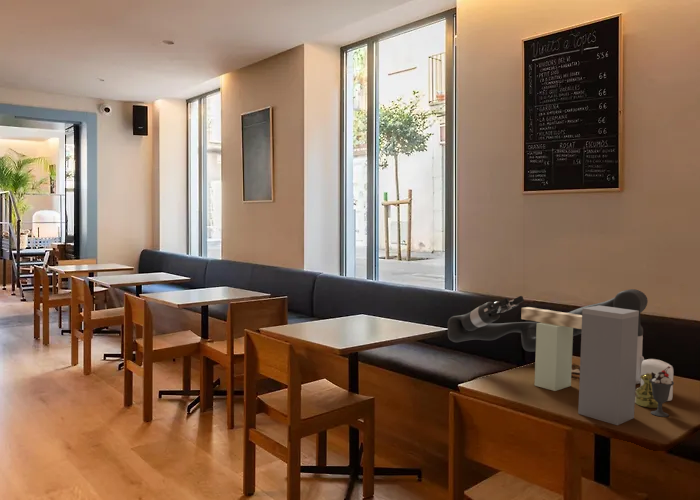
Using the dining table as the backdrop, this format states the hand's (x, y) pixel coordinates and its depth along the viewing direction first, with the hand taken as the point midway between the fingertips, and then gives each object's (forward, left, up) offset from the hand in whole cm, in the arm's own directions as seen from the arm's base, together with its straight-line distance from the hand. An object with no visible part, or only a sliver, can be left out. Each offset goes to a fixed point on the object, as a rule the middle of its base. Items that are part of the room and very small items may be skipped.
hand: (515, 299), depth 215 cm
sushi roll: (-24, -7, -29) cm, 39 cm away
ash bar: (-11, +11, -7) cm, 17 cm away
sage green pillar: (-12, +11, -29) cm, 33 cm away
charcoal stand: (-20, +41, -29) cm, 54 cm away
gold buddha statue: (-37, +28, -29) cm, 55 cm away
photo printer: (-43, +19, -29) cm, 55 cm away
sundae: (-37, +37, -29) cm, 60 cm away
